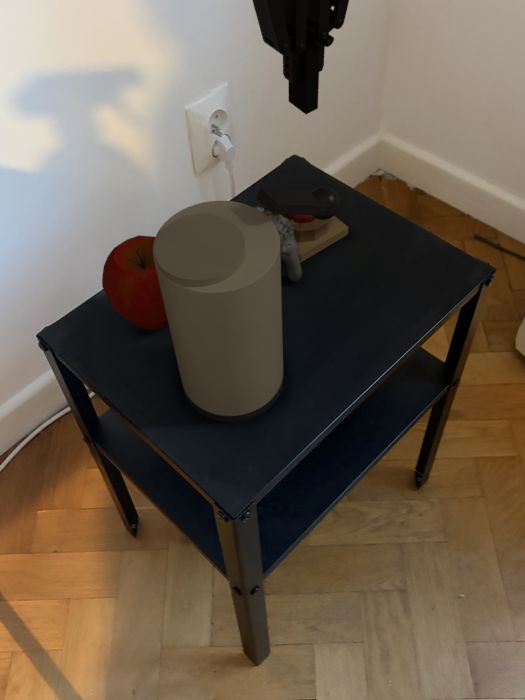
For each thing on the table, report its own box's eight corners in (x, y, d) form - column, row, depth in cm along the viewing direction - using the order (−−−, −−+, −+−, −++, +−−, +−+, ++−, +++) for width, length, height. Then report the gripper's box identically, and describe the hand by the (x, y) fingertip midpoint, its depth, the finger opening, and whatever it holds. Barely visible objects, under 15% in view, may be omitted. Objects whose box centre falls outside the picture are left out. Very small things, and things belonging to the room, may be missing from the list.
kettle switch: (336, 226, 63) (351, 198, 62) (270, 225, 57) (284, 194, 56) (316, 208, 65) (330, 180, 63) (249, 206, 59) (262, 176, 57)
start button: (325, 213, 82) (325, 202, 80) (300, 228, 81) (300, 216, 79) (304, 197, 84) (305, 185, 82) (280, 210, 82) (279, 199, 81)
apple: (179, 280, 80) (165, 206, 72) (210, 334, 76) (199, 262, 67) (105, 308, 78) (82, 236, 70) (133, 365, 74) (111, 296, 65)
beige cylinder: (303, 385, 72) (306, 243, 56) (220, 441, 68) (198, 307, 52) (244, 323, 76) (230, 176, 60) (163, 372, 73) (127, 230, 57)
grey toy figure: (316, 269, 80) (318, 218, 74) (242, 335, 76) (238, 286, 69) (255, 231, 84) (251, 179, 78) (180, 291, 79) (171, 241, 73)
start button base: (348, 234, 84) (349, 215, 81) (300, 263, 81) (300, 244, 79) (304, 197, 87) (304, 178, 85) (257, 223, 85) (256, 204, 83)
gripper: (341, -216, 56) (329, 62, 75) (201, -170, 52) (226, 113, 71) (410, -189, 52) (379, 96, 71) (265, -137, 48) (273, 152, 67)
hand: (303, 104), depth 71 cm, fingers closed
